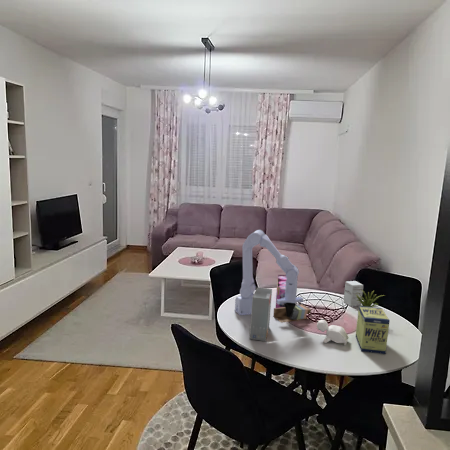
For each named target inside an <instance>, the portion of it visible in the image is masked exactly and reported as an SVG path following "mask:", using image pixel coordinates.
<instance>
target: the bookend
mask: <svg viewBox="0 0 450 450" xmlns="http://www.w3.org/2000/svg"><path fill="white" fill-rule="evenodd" d="M298 313H299V312H298V311H297V310H296V309H293V311H292V313H291V315H290V317H289V318H290V319H293V320H296V319H297V316H298ZM285 315H286V316H287V312H286V314H285Z"/></svg>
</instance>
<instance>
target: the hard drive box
mask: <svg viewBox="0 0 450 450" xmlns="http://www.w3.org/2000/svg"><path fill="white" fill-rule="evenodd" d="M253 293H254V296H253V301H252V313H251V314H250V315H251V317H250V325H249V326H250V328H249V340H253V341H254V340H255V341H256V340H257V341H262V342H266V341H267V337H268V333H269V329H270V323H271V322H270V320H271V310H272V309H271V308H272V296H273V294H272V293H273V289H271V288H268V287H267V288H264V287H258V286H256V290H255V291H254V292H253Z"/></svg>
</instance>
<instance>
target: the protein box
mask: <svg viewBox="0 0 450 450" xmlns="http://www.w3.org/2000/svg"><path fill="white" fill-rule="evenodd" d="M357 311H358V312H357V313H358V314H357V321H356V327H355V328H356V329H355V338H356V339H355V340H356V341H357V344H358V347H359V350H360V352H365V353H372V354H373V353H374V354H383V355H386V351H387V344H388V337H389V329H390V319H389V318H388V316H387V314H386V313H385V310H384V309H383V308H381V307H366V306H358V310H357Z"/></svg>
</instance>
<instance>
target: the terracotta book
mask: <svg viewBox="0 0 450 450" xmlns="http://www.w3.org/2000/svg"><path fill="white" fill-rule="evenodd" d="M299 306H301V307H302V308H304V309H305V314H304V318H303V319H306V318H307V317H306V314H308V309H307V308H305V307H304V306H302V305H300V304H299ZM306 320H307V319H306Z"/></svg>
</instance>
